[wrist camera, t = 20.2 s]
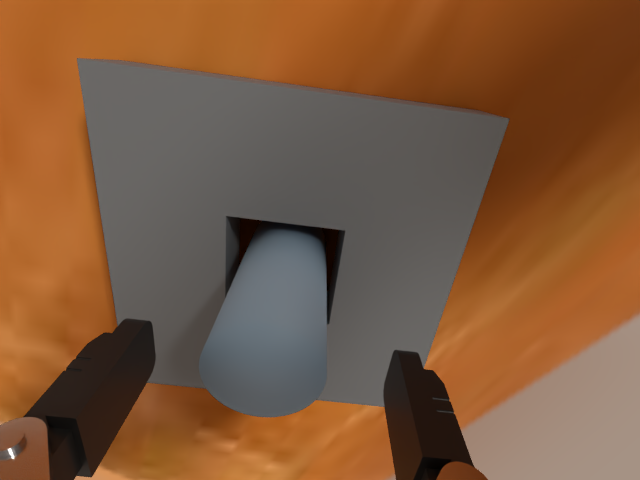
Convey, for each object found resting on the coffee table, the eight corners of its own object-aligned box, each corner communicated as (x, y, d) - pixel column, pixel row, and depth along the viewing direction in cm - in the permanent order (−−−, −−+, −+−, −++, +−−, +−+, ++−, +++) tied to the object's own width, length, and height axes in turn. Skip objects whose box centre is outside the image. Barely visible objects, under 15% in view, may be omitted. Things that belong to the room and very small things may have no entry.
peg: (254, 206, 18) (197, 315, 10) (331, 215, 18) (335, 330, 10) (251, 272, 20) (200, 410, 12) (321, 280, 20) (318, 422, 12)
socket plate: (120, 60, 15) (76, 58, 13) (478, 110, 16) (509, 118, 13) (150, 342, 22) (126, 380, 20) (399, 369, 23) (409, 409, 20)
